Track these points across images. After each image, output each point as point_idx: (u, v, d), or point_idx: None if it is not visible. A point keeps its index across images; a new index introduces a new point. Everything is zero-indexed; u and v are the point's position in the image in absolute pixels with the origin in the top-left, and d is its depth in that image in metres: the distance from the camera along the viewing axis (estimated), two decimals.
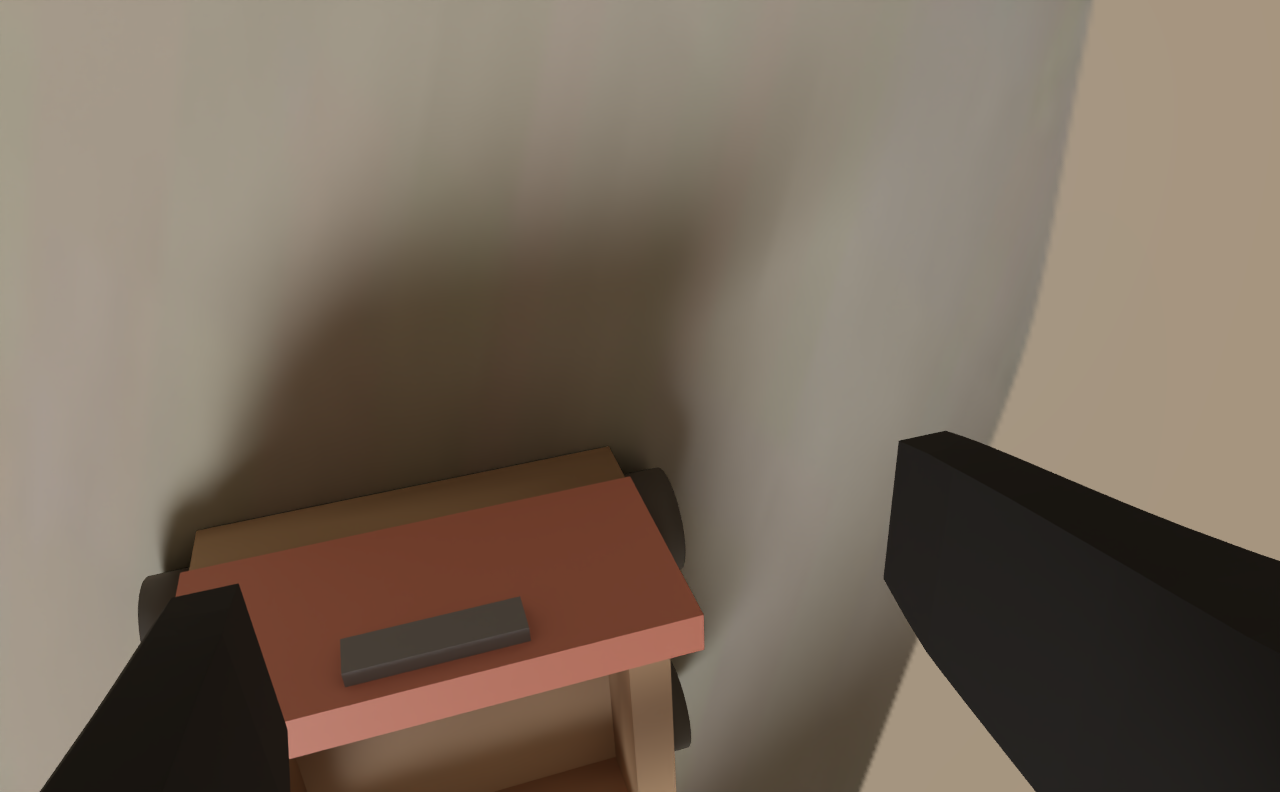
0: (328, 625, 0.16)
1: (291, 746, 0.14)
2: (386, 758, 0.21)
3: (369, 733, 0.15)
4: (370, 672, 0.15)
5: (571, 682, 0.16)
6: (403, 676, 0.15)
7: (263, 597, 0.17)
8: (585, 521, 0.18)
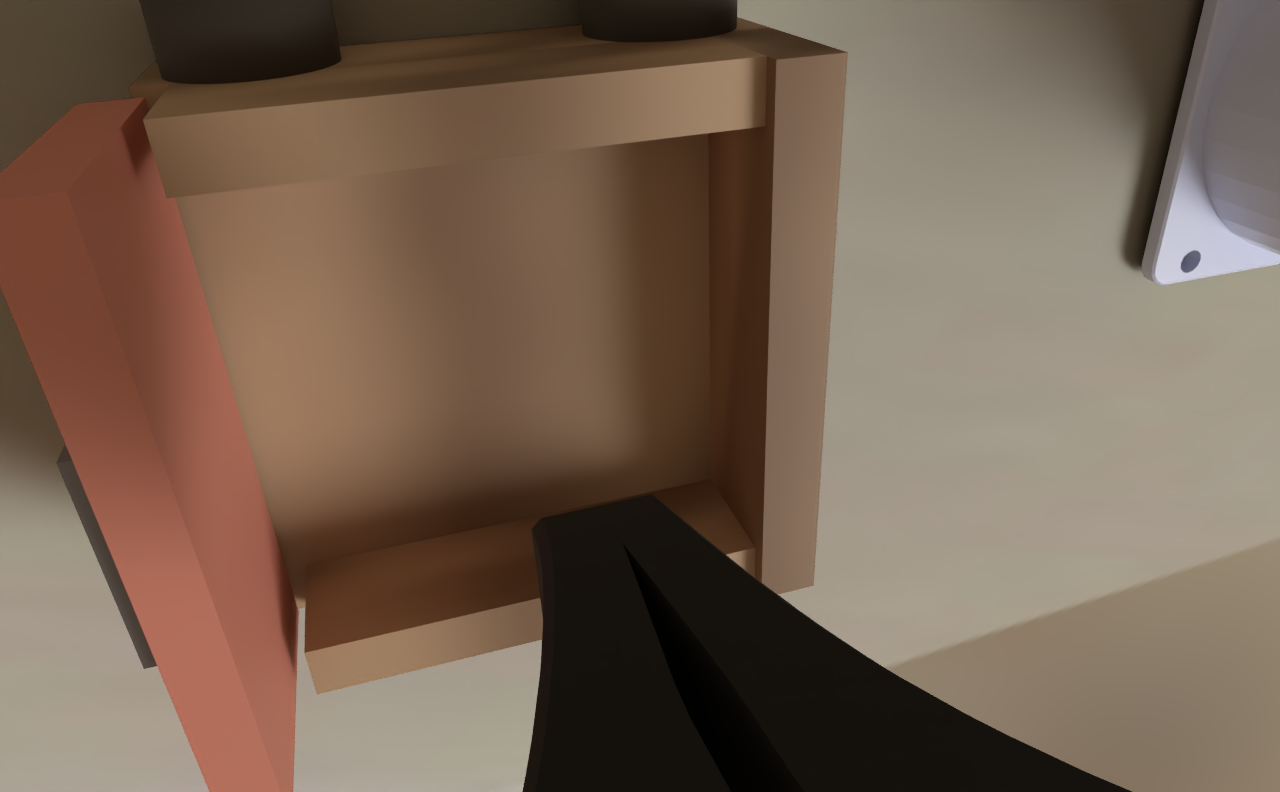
0: None
1: (234, 728, 0.12)
2: (598, 418, 0.16)
3: (224, 657, 0.11)
4: (145, 639, 0.11)
5: (148, 416, 0.09)
6: (146, 611, 0.11)
7: None
8: None
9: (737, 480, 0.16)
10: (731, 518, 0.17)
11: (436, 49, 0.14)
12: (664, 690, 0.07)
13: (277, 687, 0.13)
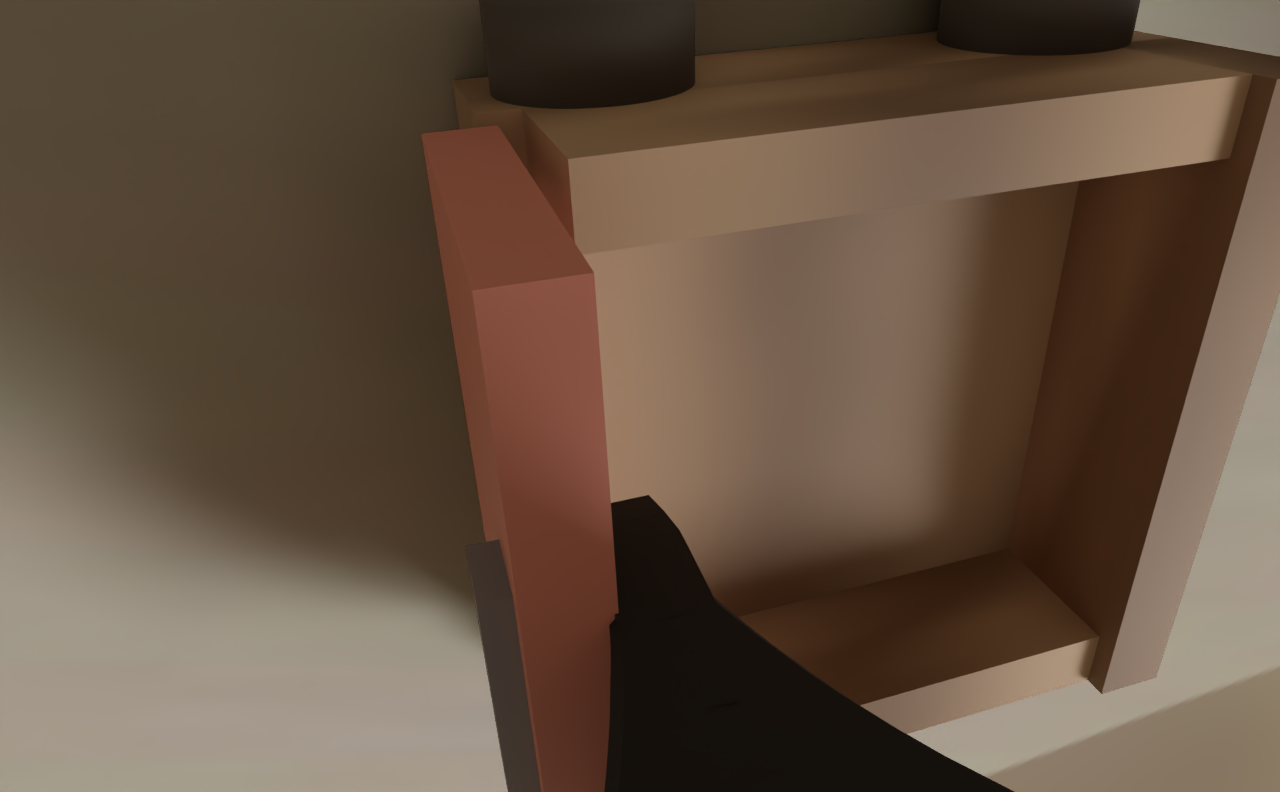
0: None
1: None
2: (907, 485, 0.14)
3: None
4: None
5: (613, 552, 0.07)
6: (539, 772, 0.09)
7: None
8: (449, 287, 0.09)
9: (1071, 557, 0.14)
10: (1053, 598, 0.15)
11: (790, 64, 0.12)
12: (737, 670, 0.07)
13: None
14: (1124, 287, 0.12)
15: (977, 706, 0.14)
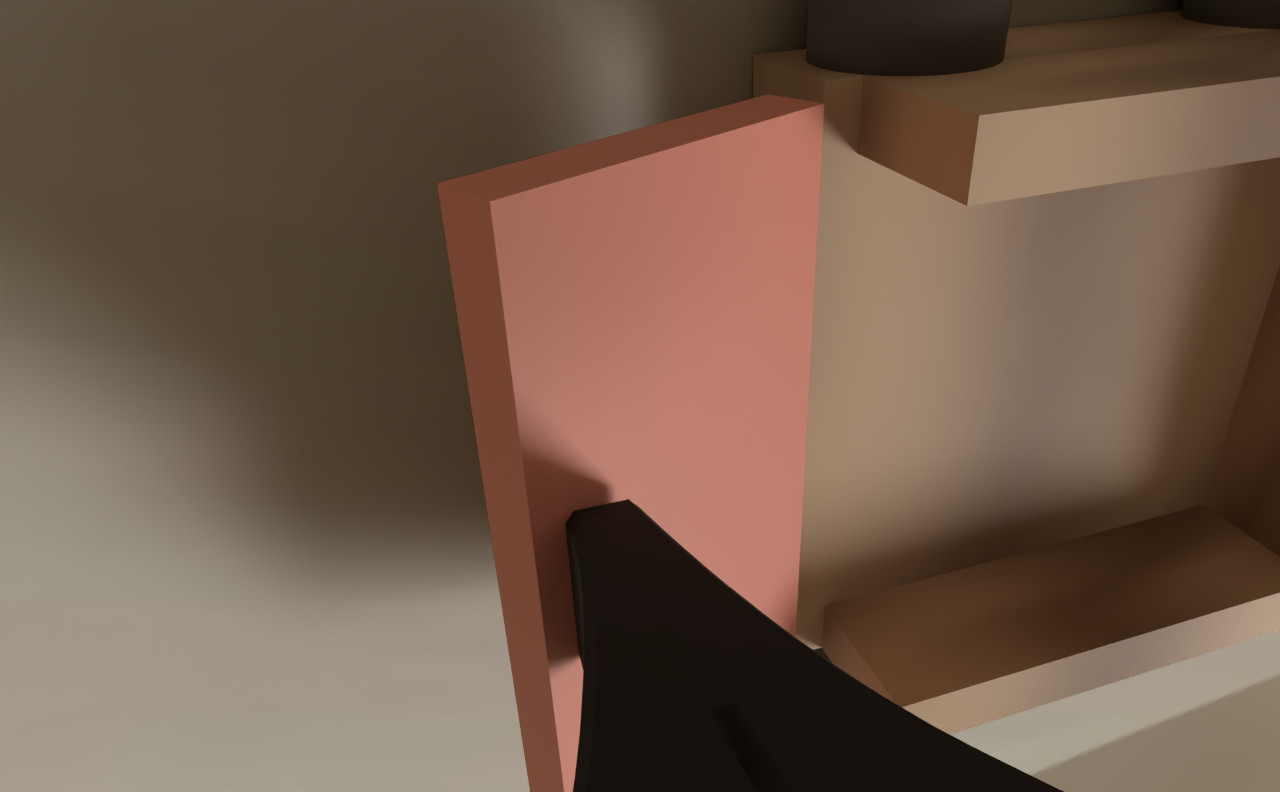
0: None
1: (546, 753, 0.11)
2: (1128, 441, 0.15)
3: (548, 692, 0.10)
4: None
5: (524, 444, 0.09)
6: None
7: None
8: None
9: None
10: (1261, 548, 0.15)
11: (1069, 38, 0.12)
12: (709, 678, 0.07)
13: None
14: None
15: (1203, 648, 0.15)
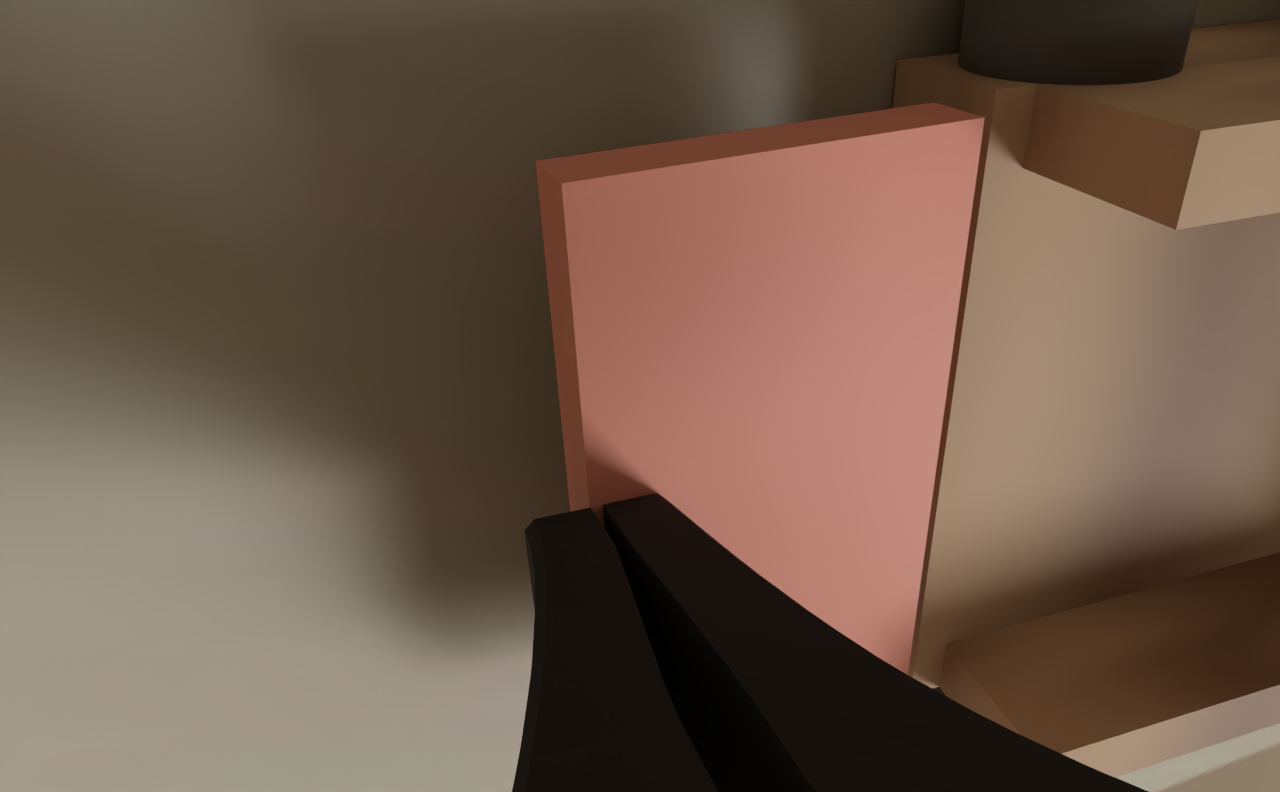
0: None
1: None
2: (1268, 471, 0.14)
3: None
4: None
5: (585, 420, 0.09)
6: None
7: None
8: None
9: None
10: None
11: (1237, 43, 0.11)
12: (655, 693, 0.07)
13: None
14: None
15: None
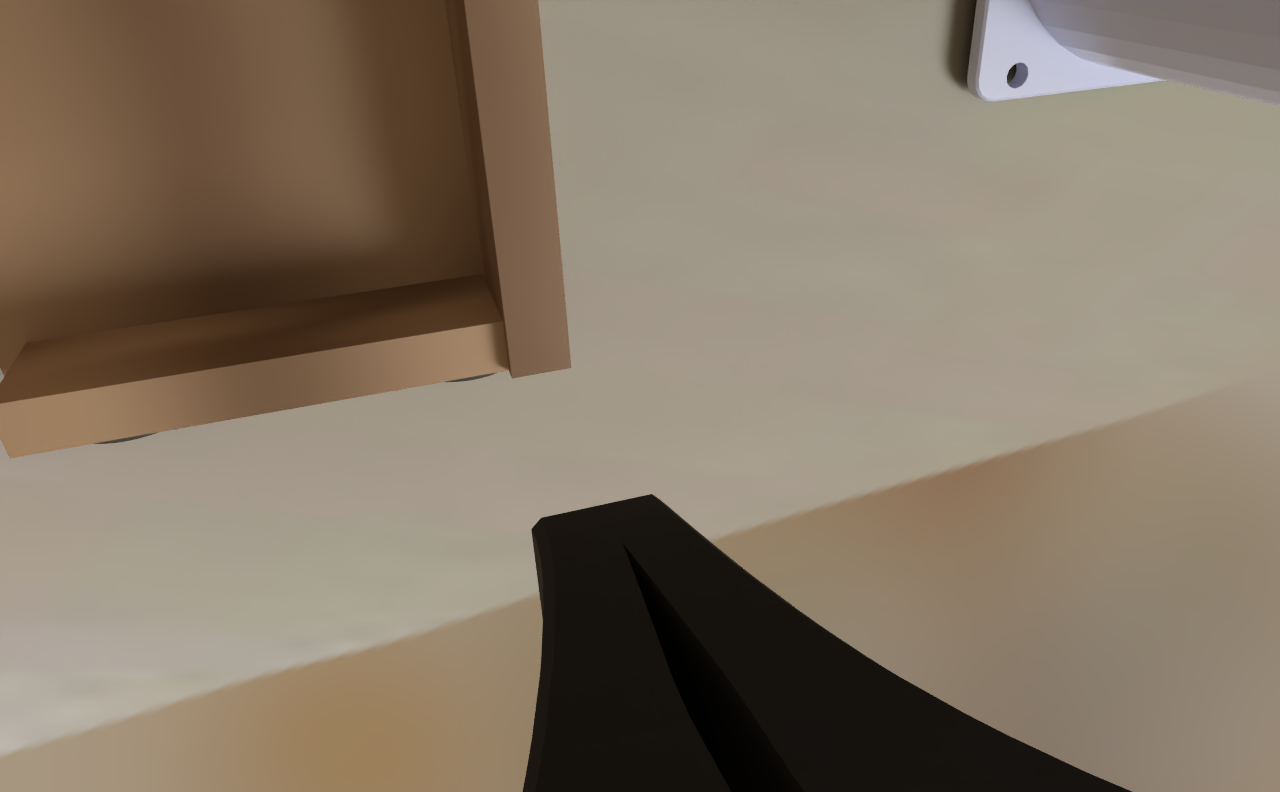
0: None
1: None
2: (342, 190, 0.16)
3: None
4: None
5: None
6: None
7: None
8: None
9: (488, 254, 0.15)
10: (489, 301, 0.16)
11: None
12: (664, 689, 0.07)
13: None
14: None
15: (387, 383, 0.15)
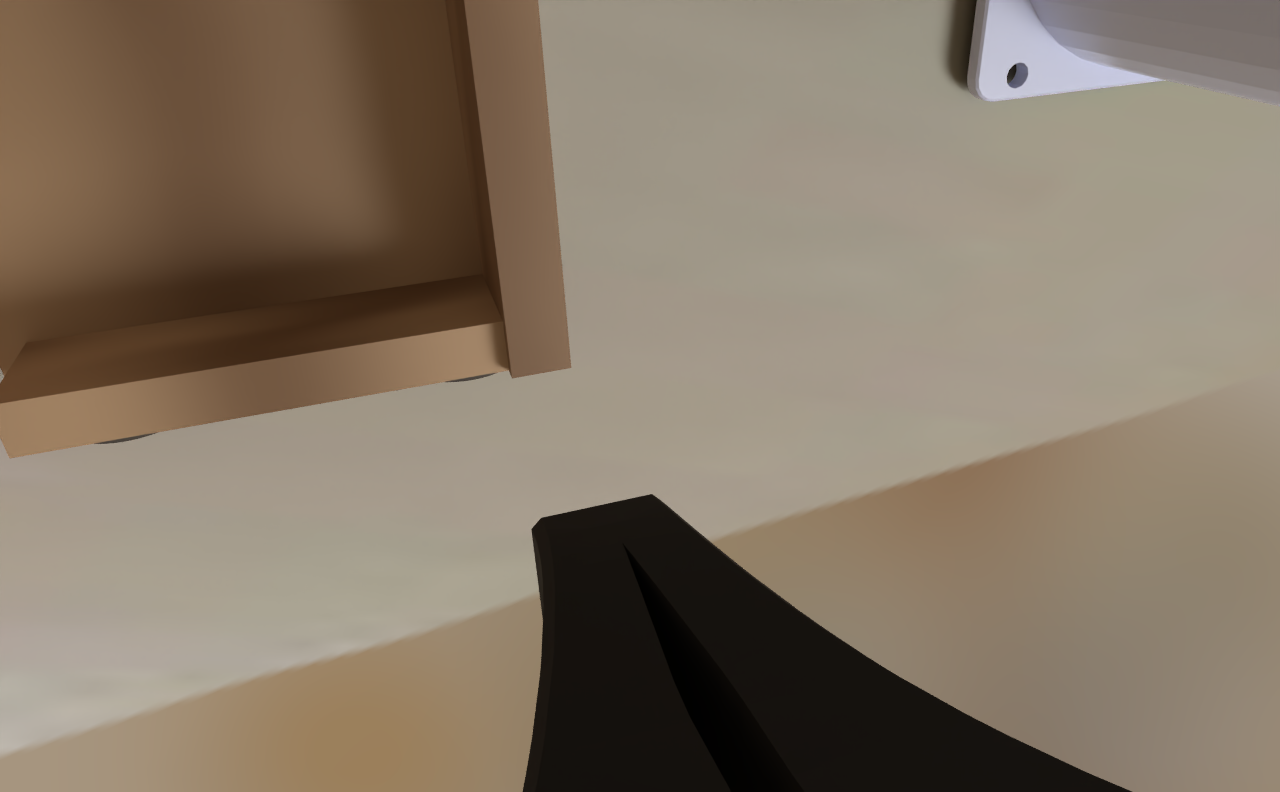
0: None
1: None
2: (342, 190, 0.16)
3: None
4: None
5: None
6: None
7: None
8: None
9: (488, 254, 0.15)
10: (489, 301, 0.16)
11: None
12: (664, 689, 0.07)
13: None
14: None
15: (387, 383, 0.15)
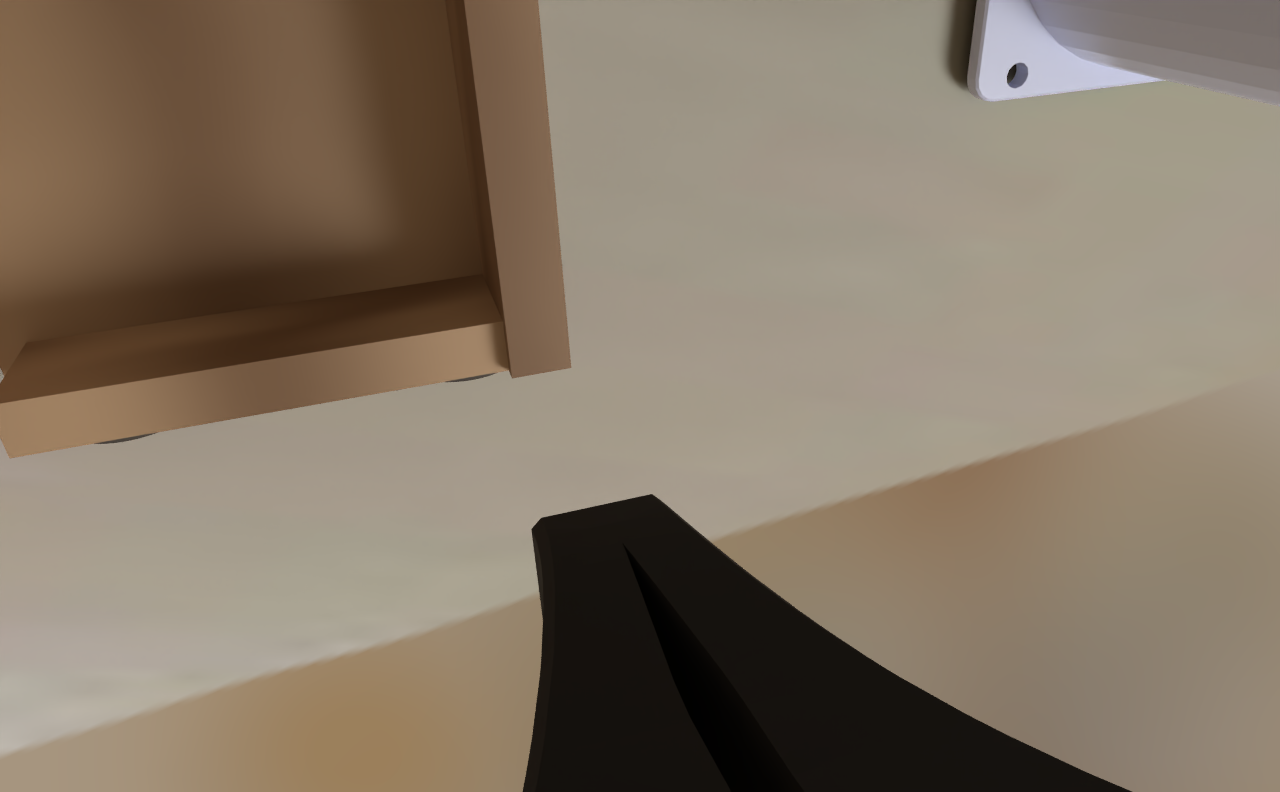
0: None
1: None
2: (342, 190, 0.16)
3: None
4: None
5: None
6: None
7: None
8: None
9: (488, 254, 0.15)
10: (489, 301, 0.16)
11: None
12: (664, 689, 0.07)
13: None
14: None
15: (387, 383, 0.15)
